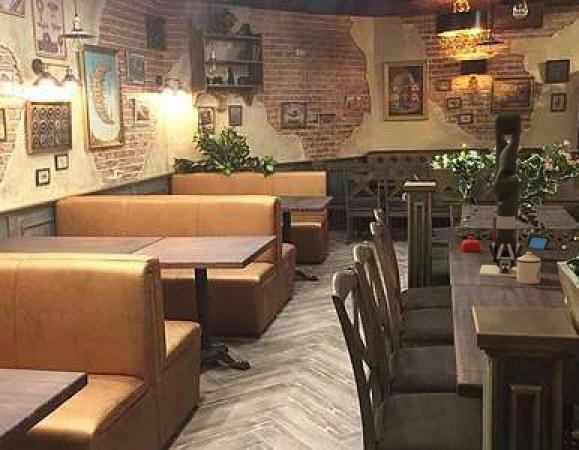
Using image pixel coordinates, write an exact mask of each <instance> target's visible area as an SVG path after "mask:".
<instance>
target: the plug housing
mask: <svg viewBox="0 0 579 450" xmlns="http://www.w3.org/2000/svg"><path fill="white" fill-rule="evenodd" d="M503 263H508V273H511V257H500V273H502V270H503Z"/></svg>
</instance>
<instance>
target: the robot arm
mask: <svg viewBox="0 0 579 450" xmlns="http://www.w3.org/2000/svg"><path fill="white" fill-rule="evenodd" d="M493 121H494V122H493V125H494V139H495V140H494V141H495V161H494V162H495V179H494V181H493V185H492V191H493V193H494V200H495V203H496V204H497V208H496V209H497V210H496V212H497V213H496V215H497V216H496V217H497V224H496V241H495V242H494V243H493V242H490V243H488V247H489V250H490V251H489V252H490V253H491V256H492V257H493V258H496V259H497V263H496V265H497V267H498V268H500V256H501V252H504V251H507V252H509V253H510V256H511V269H512V267H514V260H517V259H516V258H518V257H520V256H521V252H522V250H523V246H524V244H523V243H519V227H518V228H517V242H516V240H515V231H516V223H518V224H519V207H520V205H519V203H520V189H521V182H520V180H519V179H518V178H516V177H515V178H514V177H513V176H516V173H517V164H518V160H517V159H518V150H519V145H520V140H521V139H520V138H521V134H522V116H521V114H520V113H518V112H511V113H510V112H509V113H507V112H506V113H504V112H503V113H497V114H496V115H495V116H494V120H493ZM505 136H512V137H511V139H510V141H509V142H508V141H507V140H506V138H505ZM494 245H496V246H497V247H498V249H499V251H498V255H496V254H495V252H494V249H493V248H494V247H495V246H494ZM515 245H517V254H516V255H514V254H513V251H512V249H513V248H514V247H515ZM492 257H491V258H492Z"/></svg>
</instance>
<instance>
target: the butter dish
mask: <svg viewBox="0 0 579 450" xmlns="http://www.w3.org/2000/svg"><path fill="white" fill-rule="evenodd" d="M467 238H468V239H465V240H463V241H462V242H461V246H460V248H458V249H457V250H458V252H459V253H462V254H464V253H465V254H482V253H484V250H483V249H482V248H481V244H480V241H479V240H477V239H474V236H473V235H469V236H468V237H467ZM460 250H461V251H460ZM480 251H481V252H480Z"/></svg>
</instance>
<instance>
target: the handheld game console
mask: <svg viewBox="0 0 579 450" xmlns="http://www.w3.org/2000/svg"><path fill="white" fill-rule="evenodd" d="M550 240H551V239H550V238H549V237H545V236H544V237H543V236H537V235H534V236H533V235H530V236H529V238H528V240H527V243H526V245H525V248H528V247H529V248H530V249H535V248H537V250H543V251H546V250H547V248H548V246H549V243H550ZM529 248H528V249H529Z"/></svg>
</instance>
